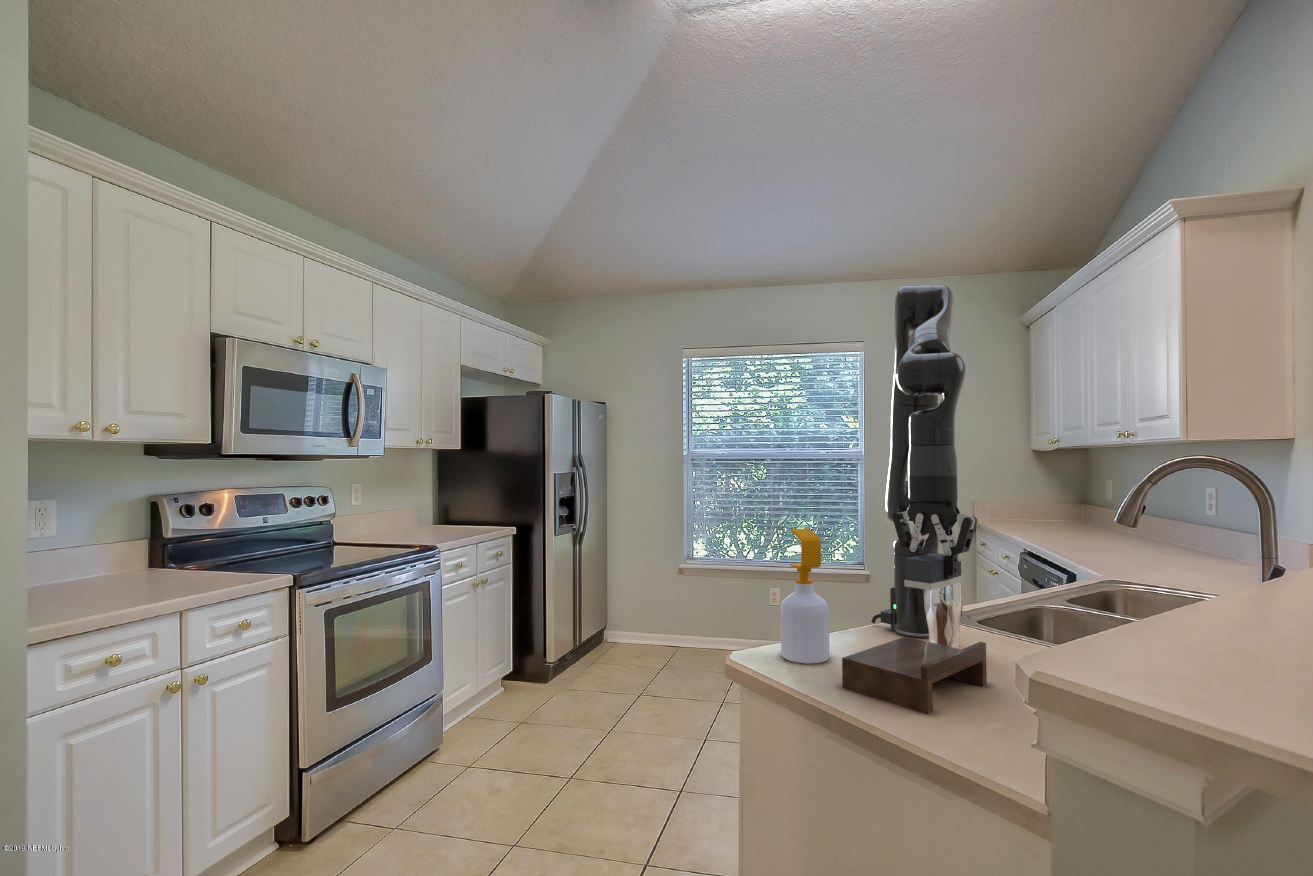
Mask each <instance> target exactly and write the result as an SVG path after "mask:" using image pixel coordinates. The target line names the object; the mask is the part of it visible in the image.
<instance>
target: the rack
mask: <svg viewBox="0 0 1313 876" xmlns="http://www.w3.org/2000/svg"><path fill="white" fill-rule="evenodd" d="M987 667H988V666H987V643H986V642H984V641H978V642H976V643H973V644H971V645H968V646H965V647H963V648H960V649H958V648H954V647H949V646H945V645H940V644H935V643H931V642H929V641H926V640H921V639H916V638H914V637H909V636H902V637H899V638H897V639H893V640H891V641H888V642H885V643H882V644H879V645H875V646H872V647H870V648H867V649H864V650H860V651H858V652H854V653H852V654H849V655H847V656H843V657H841V670H842V671H841V677H842V678H841V681H842V682H841V683H842V685H841V686H842V688H843V689H845V690H848V691H852V692H855V693H857V694H858V693H859V694H862V695H864V696H869V697H871V698H874V699H878V700H881V701H884V702H888V703H890V704H894V705H897V706H901V707H904V708H907V709H910V710H913V711H916V712H920V713H923V714H926V715H929V714H930V713H932V712H933V711H934V709H933V704H934V703H933V684H934V683H937V682H939V681H941V680H943V679H946V678H950V679H953V680H957V681H961V682H965V683H970V684H973V685H977V686H981V687H984V686H986V685H987V684H988V678H987V677H988V675H987V674H988V673H987V671H988V670H987Z"/></svg>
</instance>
